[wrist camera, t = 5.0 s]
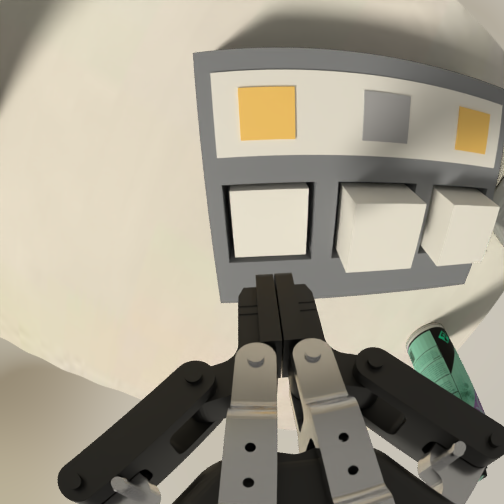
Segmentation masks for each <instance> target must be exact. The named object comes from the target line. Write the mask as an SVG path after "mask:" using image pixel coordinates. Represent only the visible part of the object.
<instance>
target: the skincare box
mask: <svg viewBox="0 0 504 504" xmlns="http://www.w3.org/2000/svg"><path fill="white" fill-rule="evenodd" d="M492 201H493V202H494V203H496V204H497V205H498V206H499V207H500V208H499V212H498V215H497V219H496V222H495V225H494V228H493V232H494V234H495V235H496V237H497V238H498V240H499V241H500V242H501V244H502V245H503V247H504V178H503V179H502V181H501V182H500V184H499V185H498V187H497V188H496V190H495V192H494V196H493V200H492Z"/></svg>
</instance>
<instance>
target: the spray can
mask: <svg viewBox="0 0 504 504" xmlns="http://www.w3.org/2000/svg"><path fill="white" fill-rule="evenodd" d="M406 349H407V352H408V354H409V356H410V359H411V361H412V364H413V366H414V369H415V370H416V371H417V372H419V373H420V374H422V375H424V376H425V377H427V378H428V379H430V380H431V381H433V382H434V383H436V384H438V385H439V386H441V387H442V388H444V389H445V390H447V391H449V392H450V393H452V394H453V395H455V396H456V397H458V398H460V399H461V400H463V401H464V402H466V403H467V404H469V405H471V406H472V407H474V408H475V409H477V410H479V411H480V412H482V413H483V414H485V413H484V410H483V408H482V406H481V403H480V401H479V398H478V396H477V394H476V392H475V389H474V387H473V385H472V383H471V381H470V378H469V376H468V374H467V372H466V370H465V368H464V366H463V364H462V362H461V360H460V358H459V356H458V354H457V352H456V350H455V348H454V346H453V344H452V342H451V340H450V338H449V336H448V335H447V333H446V331H445V329H444V328H443V326H442V325H441V324H439V323H430V324H427V325H425V326H423V327H421V328H419V329H418V330H416V331H415V332H414V333H413V334H412V335H411V336H410V337H409V339H408V340H407V343H406ZM486 468H487V466H486ZM486 468H485V469H484V471H483V473H482V475H481V477H480V479H479V480H478V481H480V480H482V479H483V478H485V477H486V476H487V473H486Z"/></svg>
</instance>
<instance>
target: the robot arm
mask: <svg viewBox="0 0 504 504" xmlns="http://www.w3.org/2000/svg"><path fill="white" fill-rule="evenodd" d="M255 277H256V287H248V288H243V289H242V291H241V293H240V294H239V296H238V349H237V351H236V353H235V355H234V356H233V357H232V358H230V359H229V360H227V361H226V362H223V363H220V364H217V365H214V366H210V365H208V364H207V363H205V362H202V361H190V362H186V363H184V364H182V365H181V366H180V367H179V368H177V369H176V370H175V371H174V372H173V373H172V374H171V375H170V376H169V377H167V378H166V379H165V380H164V381H163V382H162V383H161V384H160V385H159V386H157V387H156V388H155V389H154V390H153V391H152V392H151V393H150V394H148V395H147V396H146V397H145V398H144V399H143V400H142V401H140V402H139V403H138V404H137V405H136V406H135V407H134V408H132V409H131V410H130V411H129V412H128V413H127V414H126V415H124V416H123V417H122V418H121V419H120V420H119V421H118V422H116V423H115V424H114V425H113V426H112V427H110V428H109V429H108V430H107V431H106V432H105V433H103V434H102V435H101V436H100V437H99V438H97V439H96V440H95V441H94V442H93V443H92V444H90V445H89V446H88V447H87V448H86V449H84V450H83V451H82V452H81V453H80V454H78V455H77V456H76V457H75V458H74V459H72V460H71V461H70V462H69V463H67V464H66V465H65V466H64V467H63V468H62V469H61V470H60V472H59V475H58V486H59V489H60V491H61V493H62V494H63V495H64V496H65V497H66V498H68V499H69V500H71V501H74V502H76V503H79V504H160V501H161V494H160V491H159V489H158V488H157V485H158V484H159V483H161V481H163V480H164V479H165V478H166V477H167V476H168V475H169V474H170V473H171V472H172V471H173V470H174V469H175V468H176V467H177V466H178V465H179V464H180V463H182V462H183V461H184V459H186V458H187V457H188V456H189V455H190V454H191V453H192V452H193V451H194V450H195V449H196V447H198V446H199V445H200V444H201V443H202V442H203V441H204V439H205V438H206V437H207V436H208V435H209V434H210V433H211V432H212V431H213V430H214V429H215V428H216V426H218V425H219V424H220V423H221V421H222V420H223V419H224V418H226V428H225V437H224V447H223V457H222V461H219V462H217V463H215V464H213V465H212V466H210V467H208V468H207V469H206V470H204V471H203V472H202V473H201V474H200V475H199V476H198V477H197V478H196V479H195V480H194V481H193V482H192V483H191V485H190V486H189V487H188V488H187V489H186V490H185V491H184V492H183V493H182V494H181V495H180V496H179V497H178V498H177V499H176V500H175V501H174V502H173V503H172V504H465V503H466V501H467V500H468V498H469V496H470V495H471V493H472V491H473V489H474V488H475V486H476V484H477V482H478V480H479V479H480V477H481V475H482V473H483V471H484V469H485V468H486V466H488V465H489V464H491V463H492V462H494V461H495V460H497V459H498V458H500V457H501V456H502V455H504V427H503V426H502V425H501V424H499V423H497V422H496V421H494V420H493V419H491V418H490V417H488V416H486V415H485V414H483V413H482V412H480V411H479V410H477V409H475V408H474V407H472V406H471V405H469V404H467V403H466V402H464V401H463V400H461V399H460V398H458V397H456V396H455V395H453V394H452V393H450V392H449V391H447V390H445V389H444V388H442V387H441V386H439V385H438V384H436V383H434V382H433V381H431V380H430V379H428V378H427V377H425V376H424V375H422V374H420V373H419V372H417V371H416V370H414V369H413V368H411V367H410V366H408V365H406V364H405V363H403V362H402V361H400V360H399V359H397V358H396V357H394V356H393V355H391V354H389V353H388V352H386V351H385V350H383V349H380V348H375V347H370V348H366V349H364V350H362V351H361V352H360V353H359V354H358V355H353V354H346V353H341V352H338V351H336V350H334V349H333V348H331V347H330V346H329V345H328V344H327V342H326V341H325V338H324V334H323V331H322V327H321V323H320V319H319V315H318V312H317V308H316V304H315V300H314V297H313V293H312V291H311V290H310V289H309V288H308V287H307V286H306V284H294V280H293V276H292V273H291V272H290V273H274V278H273V274H259V275H255ZM281 371H282V378H283V377H288V378H289V385H290V388H289V397H290V401H291V406H292V410H293V415H294V420H295V424H296V429H297V434H298V446H299V454H286V453H279V452H277V387H278V378H281ZM366 426H367V427H368V428H370V429H371V430H372V431H374V432H375V433H377V434H378V435H379V436H381V437H382V438H384V439H385V440H386V441H388V442H389V443H391V444H392V445H394V446H395V447H396V448H398V449H399V450H401V451H402V452H404V453H405V454H407V455H408V456H410V457H411V458H413V459H414V460H416V461H417V462H418V474H419V477H420V478H421V479H422V480H423V481H425V482H426V483H424V482H423V481H421V480H420V479H419V478H417V477H416V476H414V475H413V474H412V473H410V472H409V471H408V470H406V469H405V468H404V467H402V466H401V465H399V464H398V463H397V462H395V461H394V460H393V459H392V458H390V457H389V456H387V455H386V454H385V453H383V452H381V451H379V450H377V449H375V448H373V446H372V443H371V440H370V437H369V434H368V431H367V428H366Z"/></svg>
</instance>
